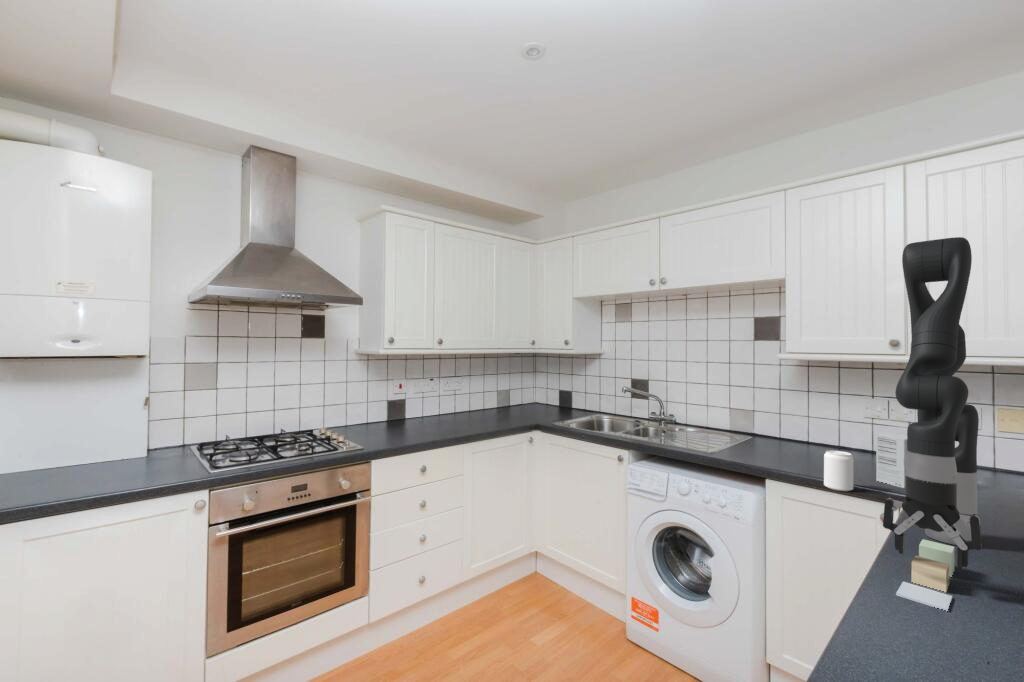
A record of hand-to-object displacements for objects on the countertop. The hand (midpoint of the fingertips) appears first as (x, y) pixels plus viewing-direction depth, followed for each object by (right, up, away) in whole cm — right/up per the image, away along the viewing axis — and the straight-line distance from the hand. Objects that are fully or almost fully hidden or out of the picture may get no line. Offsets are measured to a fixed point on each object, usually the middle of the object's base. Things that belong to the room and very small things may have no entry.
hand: (929, 560), depth 91 cm
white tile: (-6, -4, -5) cm, 9 cm away
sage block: (+7, -5, +6) cm, 11 cm away
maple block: (0, -5, 0) cm, 5 cm away
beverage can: (+28, -7, +65) cm, 71 cm away
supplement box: (+55, -8, +73) cm, 91 cm away
